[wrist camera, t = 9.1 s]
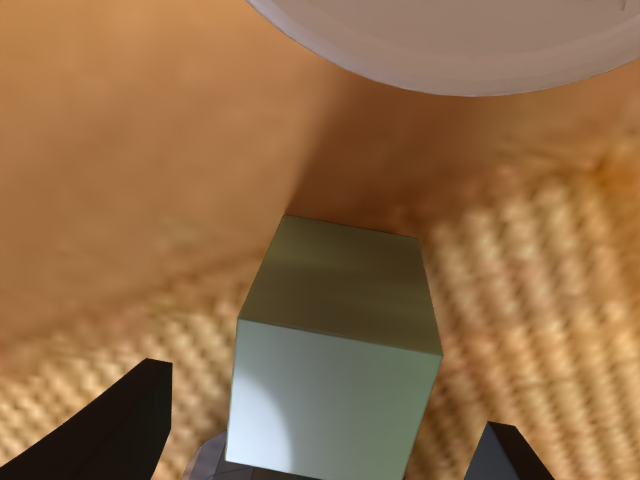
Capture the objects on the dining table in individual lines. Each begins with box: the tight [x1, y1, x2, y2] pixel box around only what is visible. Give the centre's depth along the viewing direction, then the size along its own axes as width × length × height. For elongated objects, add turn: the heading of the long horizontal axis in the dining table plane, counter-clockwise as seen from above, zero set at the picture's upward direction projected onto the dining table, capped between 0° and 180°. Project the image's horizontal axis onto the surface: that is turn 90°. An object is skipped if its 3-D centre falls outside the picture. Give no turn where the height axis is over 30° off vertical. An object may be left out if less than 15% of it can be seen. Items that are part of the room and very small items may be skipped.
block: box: [225, 215, 444, 480], centre depth 14 cm, size 4×4×6 cm
